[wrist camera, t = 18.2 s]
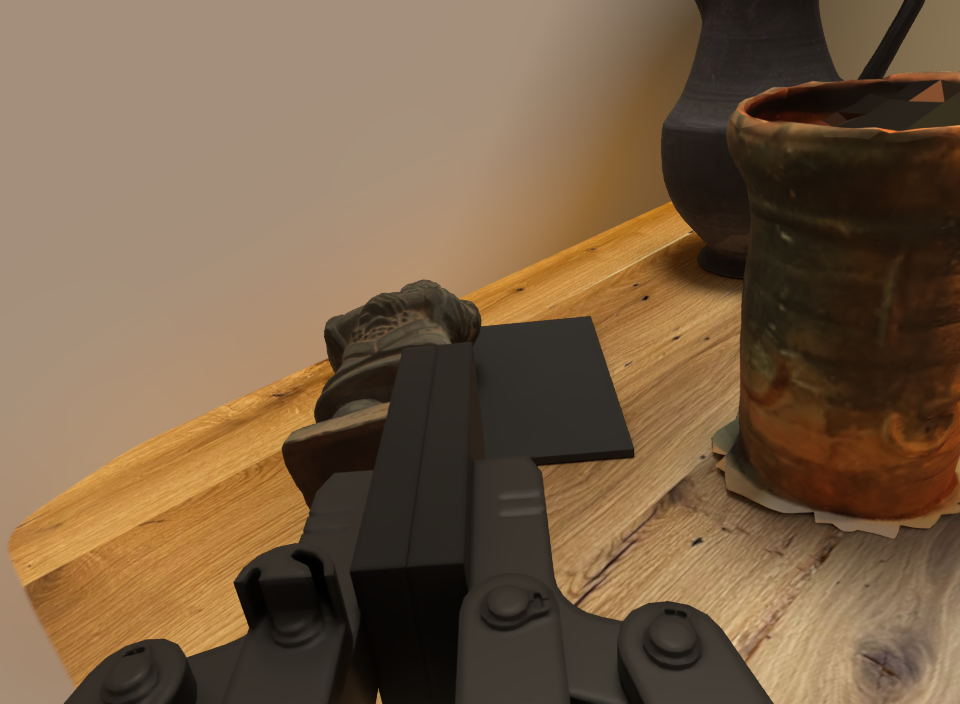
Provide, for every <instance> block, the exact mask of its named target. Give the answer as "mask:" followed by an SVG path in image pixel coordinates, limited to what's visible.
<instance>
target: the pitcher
mask: <svg viewBox="0 0 960 704" xmlns="http://www.w3.org/2000/svg"><path fill="white" fill-rule="evenodd" d="M695 2H696V4H697V6H698V9H699V11H700V14H701V18H702V29H701V34H700V38H699V42H698V47H697V51H696V55H695V59H694V62H693V66H692V69H691V72H690V75H689V77H688V80H687V83H686V85H685V88H684V90H683V93H682V95H681V97H680V99H679V100H678V102H677V103H676V105H675V106H674V108H673V109H672V111H671V112H670V114H669V115H668V117H667V118H666V120H665V122H664V123H663V127H662V139H661V157H662V171H663V176H664V182H665V185H666V188H667V190H668V193H669V196H670V198H671V200H672V202H673V204H674V206H675V208H676V210H677V211H678V213H679V214H680V215H681V217H682V218H683V219H684V221H685V222H686V223H687V224H688V225H689V226H690V227H691V228H692V229H693V230H694V231H695V232H696V233H697V234H698V235H699V237H700V238H701V239H702V240H703V241H704V242H705V243H706V246H705V247H704V248H703V249H702V250H701V252H700V253H699V255H698V257H697V261H698V263H699V265H700V266H701V267H702V268H704V269H706V270H708V271H711V272H714V273H717V274H720V275H724V276H728V277H735V278H744V271H745V265H746V259H747V253H748V244H749V235H750V227H751V214H750V204H749V197H748V192H747V186H746V183H745V181H744V180H743V178H742V176H741V174H740V172H739V170H738V169H737V167H736V165H735V163H734V161H733V159H732V157H731V155H730V153H729V150H728V145H727V138H726V131H727V125H728V120H729V116H730V115H731V114H732V113H733V112H734V111H735V110H736V109H737V107H738V105H739V103H740V102H742V101H743V100H745V99H748V98H751V97H754V96H756V95H758V94H761V93H763V92H765V91H767V90H769V89H771V88H773V87H780V88H782V87H788V88H789V87H793V86H797V85H801V84H805V83H808V82H812V81H816V82H839V81H844V80H843V79H841V78H840V77H839V75H838V74H837V72H836V70H835V67H834V65H833V62H832V59H831V57H830V54H829V51H828V48H827V44H826V41H825V37H824V33H823V28H822V23H821V19H820V11H819V0H695ZM924 2H925V0H904V2H903V4H902V6H901V8H900V10H899V11H898V14H897V16H896V17H895V19H894V20H893V22H892V24H891V26H890V27H889V29H888V31H887V32H886V34H885V36H884V38H883V40H882V41H881V43H880V45H879V46H878V48H877V50H876V51H875V53H874V55H873V56H872V58H871V59H870V61H869V62H868V64H867V65H866V67H865V68H864V70H863V72H862V74H861V75H860V77H859V78H858V79H857V80H877V79H882V78H883V77H884V75H885V73H886V71H887V69H888V67H889V65H890V64H891V62H892V60H893V58H894V56H895V55H896V53H897V51H898V49H899V47H900V45H901V44H902V42H903V40H904V38H905V36H906V35H907V33H908V31H909V29H910V28H911V26H912V24H913V22H914V20H915V18H916V17H917V15H918V13H919V11H920V10H921V8H922V6H923V4H924Z"/></svg>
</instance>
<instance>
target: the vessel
mask: <svg viewBox="0 0 960 704" xmlns="http://www.w3.org/2000/svg"><path fill="white" fill-rule="evenodd" d="M726 138H727V145H728V150H729V153H730V155H731V157H732V159H733V161H734V163H735V165H736V167H737V169H738V170H739V172H740V174H741V176H742V178H743V180H744V181H745V183H746V186H747V192H748V197H749V204H750V214H751V227H750V235H749V244H748V253H747V259H746V265H745V271H744V280H743V292H742V304H741V333H740V402H739V411H738V413H737V417H736V420H734V421H733V422H731V423H729V424H728V425H726V426H724V427H723V428H721V429H720V430H718V431H717V432H716V433H715V434H714V436H713V437H712V438H711V439H712V443H713V450H712V452H714V453H718V454H723V455H726V456H725V457H724V458H722V459H721V460H720V461H719V462H718V463H717V464H716V465H715V466H717V467H718V468H720V469H721V470H723V471H724V472H725V481H726V487H727V489H729V490H731V491H733V492H736V493H738V494H740V495H743V496H745V497H747V498H749V499H751V500H753V501H755V502H757V503H759V504H761V505H763V506H765V507H767V508H770V509H773V510H776V511H779V512H782V513H803V512H814V516H815V523H832V524H834V525H835V526H836V527H838V528H839V529H840V530H842V531H850V532H853V531H855V530H861V531H866V532H871V533H875V534H878V535H882V536H885V537H889V538H892V539H894V538H895V537H896V535H897V534H898V531H899V527H900V525H903V526H909V527H914V528H929V529H930V528H931V527H932V526H933V525H934V524H935V523H936V522H937V521H938V519H939V517H940V516H941V514H956V513H958V512H960V505H959V504H957V503H958V502H960V72H958V71H944V72H918V73H901V74H896V75H892V76H888V77H885V78H882V79H877V80H846V81H839V82H816V81H812V82H808V83H805V84H801V85H797V86H793V87H789V88H788V87H782V88H780V87H773V88H771V89H769V90H767V91H765V92H763V93H761V94H758V95H756V96H754V97H751V98H748V99H745V100H743V101H742V102H740V103H739V105H738V107H737V109H736V110H735V111H734V112H733V113H732V114H731V115H730V116H729V120H728V125H727V131H726Z"/></svg>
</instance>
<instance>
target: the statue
mask: <svg viewBox="0 0 960 704" xmlns="http://www.w3.org/2000/svg"><path fill="white" fill-rule="evenodd" d="M480 328H481V316H480V313H479V310H478V308H477V307H476V306H475V305H474V304H473V303H472V302H471V301H467V300H459V299H458V298H457V297H456V296H455V295H454V294H452V293H450V292H448V291H447V290H446V289H444V288H441V286H440V285H439V284H437V283H435V282H432V281H430V280H420V281H417V282H415V283H411V284H407V285H406V286H405V287H403V288H402V289H401V291H400V292H394V293H381V294H379V295H377V296H375V297H373V298H371V299H370V300H369V301H368V302H367V303H366V304H365V305H364V306H361V307H359V308H356V309H354V310H352V311H350V312H348V313H346V314H345V315H339V316H335V317H332V318H331V319H329V320H328V322H327V323H326V326H325V330H324V338H325V342H326V346H327V354H328V357H329V361H330V364H331V366H332V368H333V371H334V372H335V374H334V375H333V376H332V377H331V378H330V379H329V380H328V382H327V383H326V385H325V386H324V388H323V390H322V394H321V395H320V397H319V399H318V401H317V403H316V406H315V410H314V417H315V420H316V424H313V425H310V426H306V427H303V428H301V429H298V430H296V431H294V432H292V433H291V434H290V436H289V437H288V438H287V439H286V441H285V442H284V444H283V446H282V453H283V458H284V462H285V465H286V467H287V469H288V471H289V473H290V474H291V476H292V478H293V480H294V482H295V484H296V486H297V487H298V488H299V490H300V491H301V492H302V494H303V496H304V499H305V501H306V504H307V506H308V507H309V509H311V506H312V503H313V500H314V498H315V495H316V492H317V491H318V490H319V489H320V488H321V487H322V485H323V484H324V483H325V482H326V481H327V480H328V479H329V478H330V477H331V476H332V475H333V474H334V473H342V472H355V471H367V470H374V467H375V462H376V458H377V454H378V450H379V446H380V442H381V437H382V433H383V429H384V425H385V421H386V416H387V412H388V408H389V404H390V400H391V395H392V391H393V387H394V383H395V379H396V375H397V370H398V366H399V362H400V358H401V354H402V349H403V348H408V347H419V346H431V345H442V344H453V343H464V342H472V344H473V345H474V344H475V342H476V340H477V338H478V336H479V334H480Z"/></svg>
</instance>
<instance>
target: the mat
mask: <svg viewBox="0 0 960 704" xmlns="http://www.w3.org/2000/svg"><path fill="white" fill-rule="evenodd" d="M473 352H474V361H475V369H476V377H477V386H478V394H479V402H480V411H481V419H482V427H483V435H484V444H485V459H492V458H505V457H517V456H529V457H530V458H531V460H532V461H533V462H534V463H535V464H536V465H539V464H551V463H563V462H575V461H587V460H599V459H611V458H623V457H634V447H633V444H632V441H631V438H630V435H629V432H628V429H627V426H626V423H625V420H624V416H623V413H622V410H621V407H620V404H619V401H618V398H617V395H616V392H615V389H614V386H613V383H612V380H611V377H610V374H609V371H608V368H607V365H606V361H605V358H604V355H603V352H602V349H601V346H600V343H599V340H598V337H597V334H596V331H595V328H594V325H593V322H592V319H591V316H586V317H576V318H565V319H555V320H544V321H533V322H523V323H512V324H502V325H491V326H481V328H480V334H479V336H478V338H477V340H476V342H475V344H474V345H473Z"/></svg>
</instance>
